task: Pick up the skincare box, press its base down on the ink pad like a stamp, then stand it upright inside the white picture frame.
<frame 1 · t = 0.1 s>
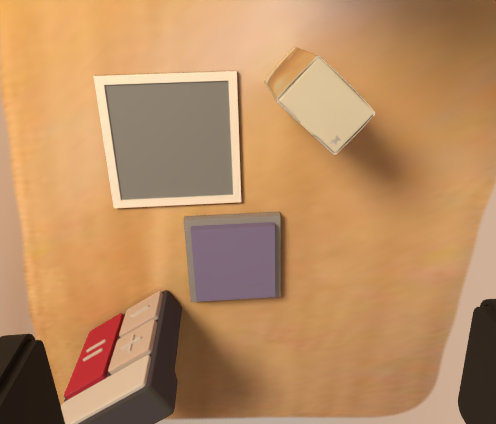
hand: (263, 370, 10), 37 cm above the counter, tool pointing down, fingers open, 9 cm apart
skincare box: (299, 84, 44), on the counter
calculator: (136, 318, 53), on the counter
white picture frame: (172, 141, 45), on the counter
ink pad: (233, 255, 50), on the counter
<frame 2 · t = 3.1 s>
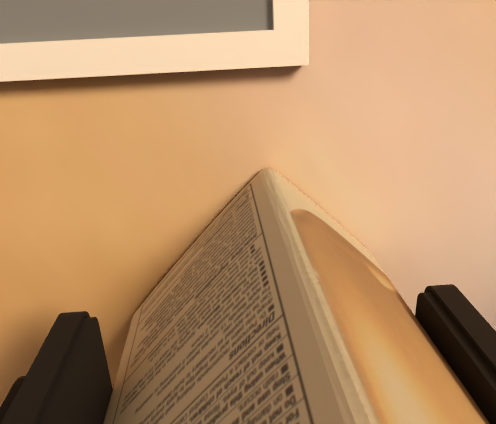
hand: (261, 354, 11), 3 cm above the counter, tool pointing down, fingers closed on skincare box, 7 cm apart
skincare box: (253, 275, 14), on the counter, touching gripper
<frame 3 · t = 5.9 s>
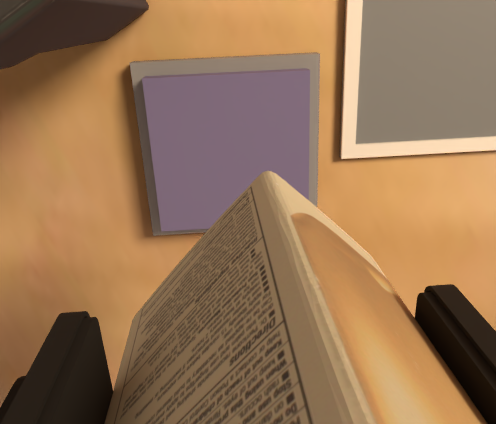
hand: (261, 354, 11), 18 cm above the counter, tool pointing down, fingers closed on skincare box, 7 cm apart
skincare box: (253, 278, 14), point 15 cm above the counter, touching gripper
white picture frame: (460, 35, 25), on the counter
ink pad: (230, 146, 27), on the counter
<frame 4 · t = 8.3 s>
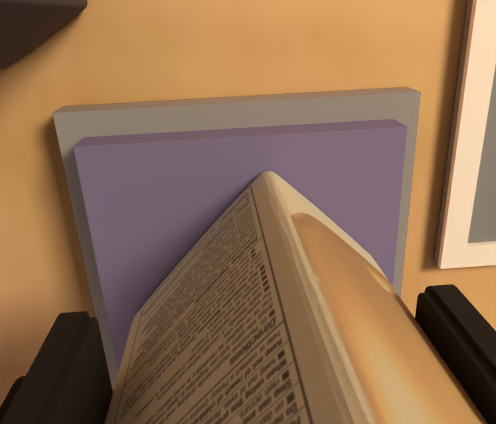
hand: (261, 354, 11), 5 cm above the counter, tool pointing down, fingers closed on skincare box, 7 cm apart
skincare box: (253, 278, 14), point 2 cm above the counter, touching gripper, ink pad
ink pad: (246, 249, 15), on the counter
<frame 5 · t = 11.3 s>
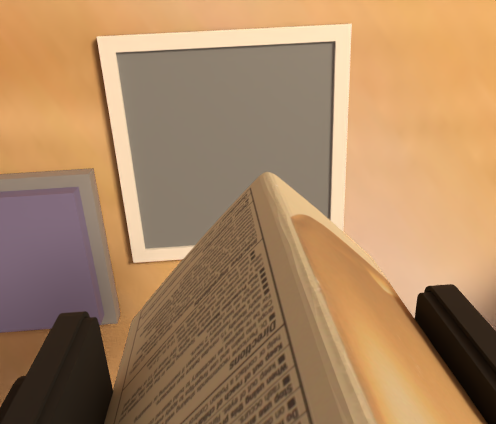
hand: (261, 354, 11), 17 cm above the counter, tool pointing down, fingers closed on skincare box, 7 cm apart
skincare box: (253, 280, 14), point 14 cm above the counter, touching gripper
white picture frame: (232, 151, 26), on the counter
ink pad: (25, 252, 28), on the counter
when the fingers open (5 cm above the counter, at t = 14.0 s): skincare box drops 2 cm, resting on white picture frame.
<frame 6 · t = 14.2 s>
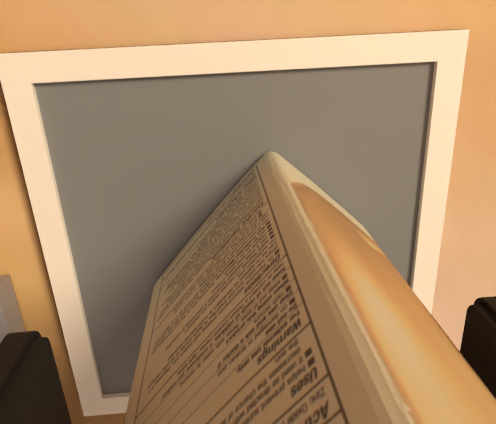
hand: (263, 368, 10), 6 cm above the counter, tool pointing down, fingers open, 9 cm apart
skincare box: (259, 248, 15), resting on white picture frame
white picture frame: (246, 245, 16), on the counter
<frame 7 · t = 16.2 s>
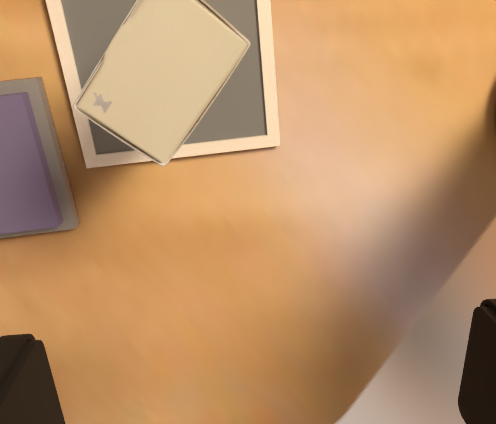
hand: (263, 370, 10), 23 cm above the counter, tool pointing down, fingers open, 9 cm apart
skincare box: (176, 55, 29), resting on white picture frame
white picture frame: (169, 54, 29), on the counter
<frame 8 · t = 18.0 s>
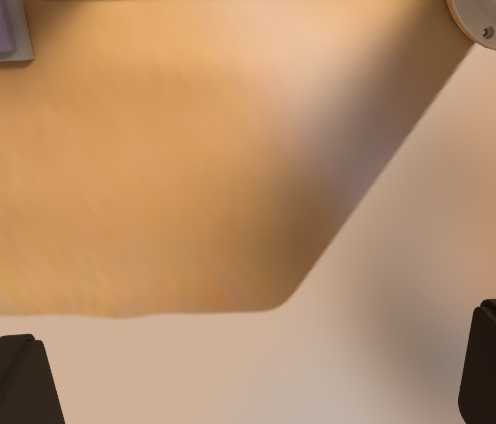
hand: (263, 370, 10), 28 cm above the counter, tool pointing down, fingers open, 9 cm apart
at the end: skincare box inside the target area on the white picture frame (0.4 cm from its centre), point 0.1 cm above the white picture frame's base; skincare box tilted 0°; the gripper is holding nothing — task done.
